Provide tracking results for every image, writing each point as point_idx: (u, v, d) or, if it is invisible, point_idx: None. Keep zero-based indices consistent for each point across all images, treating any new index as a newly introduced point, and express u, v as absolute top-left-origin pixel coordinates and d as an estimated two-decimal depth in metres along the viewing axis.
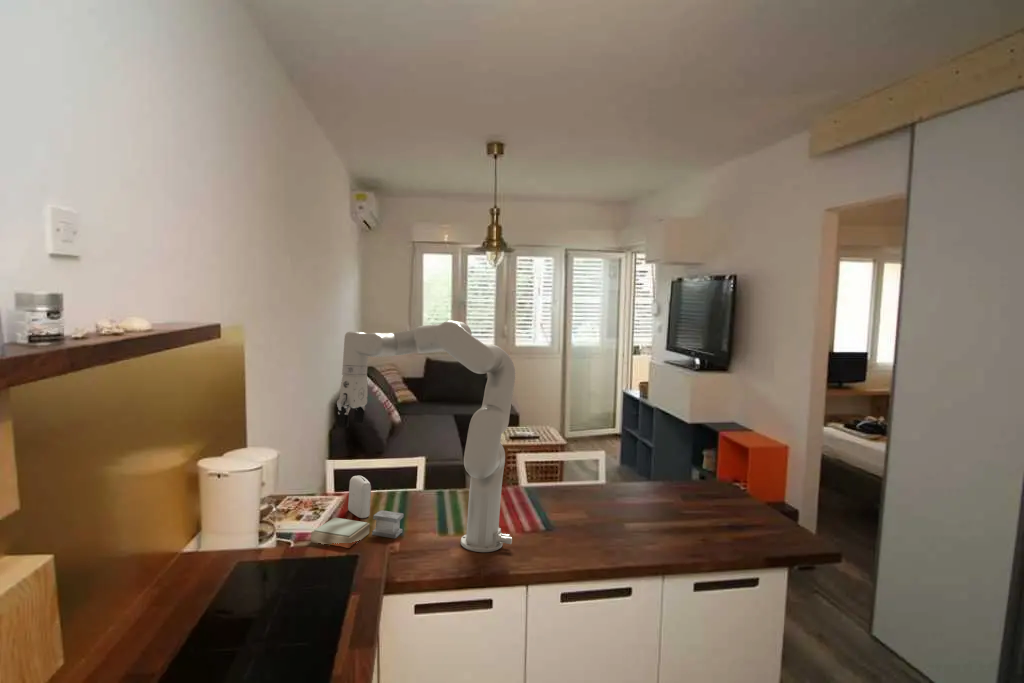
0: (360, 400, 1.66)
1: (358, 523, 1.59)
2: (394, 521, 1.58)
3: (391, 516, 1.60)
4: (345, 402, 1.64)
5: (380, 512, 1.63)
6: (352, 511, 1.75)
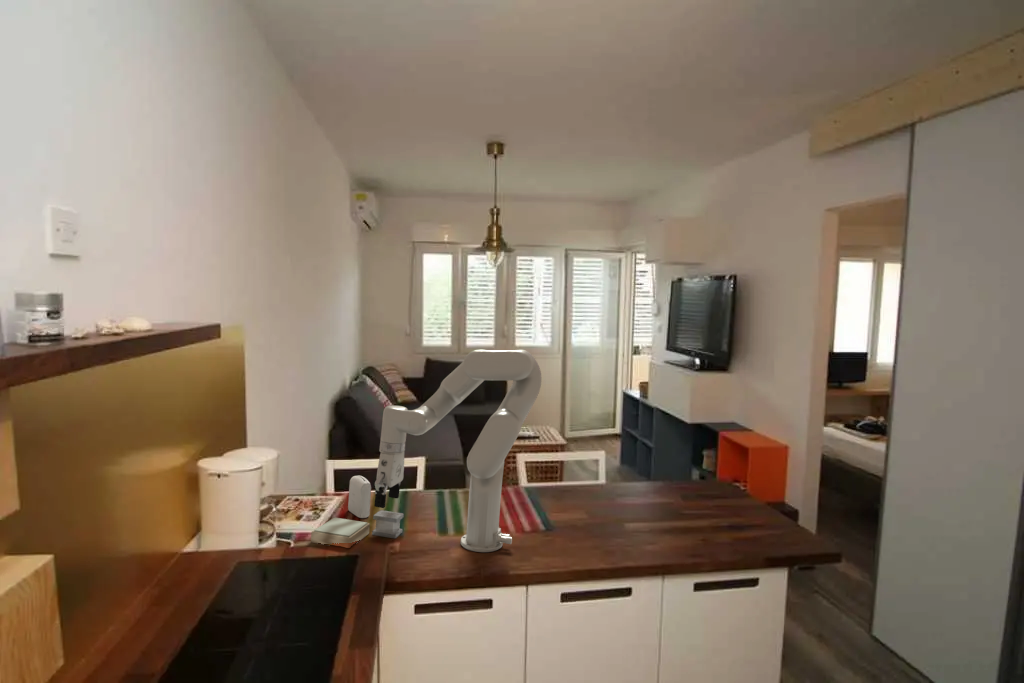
0: (397, 477, 1.60)
1: (358, 523, 1.59)
2: (394, 521, 1.58)
3: (391, 516, 1.60)
4: (382, 480, 1.58)
5: (380, 512, 1.63)
6: (352, 511, 1.75)
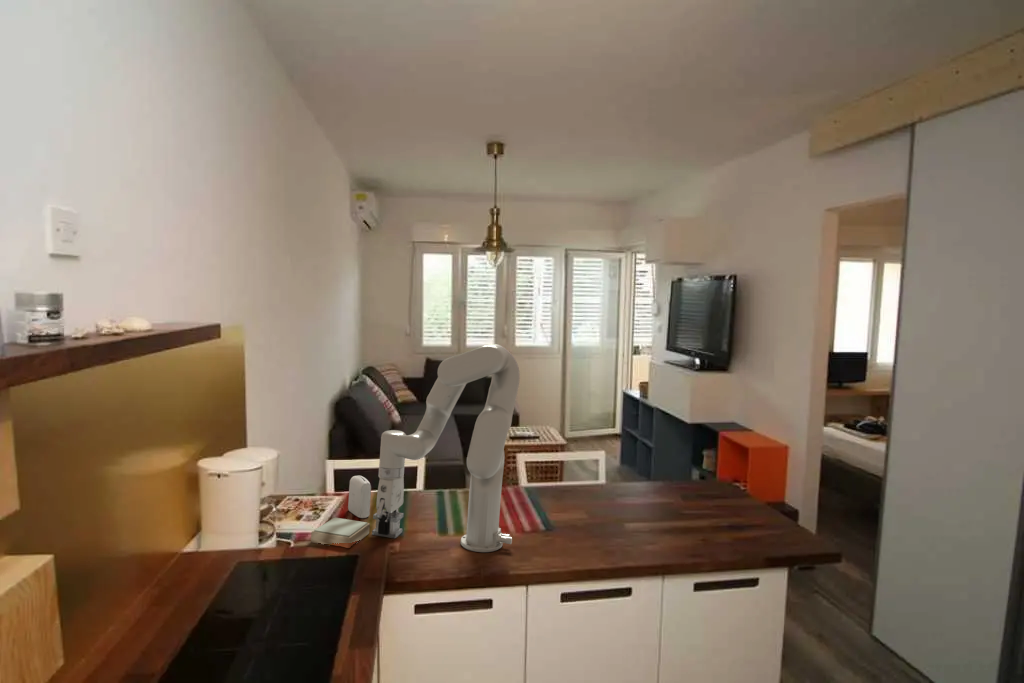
0: (397, 502, 1.60)
1: (358, 523, 1.59)
2: (394, 521, 1.58)
3: (391, 516, 1.60)
4: None
5: None
6: (352, 511, 1.75)
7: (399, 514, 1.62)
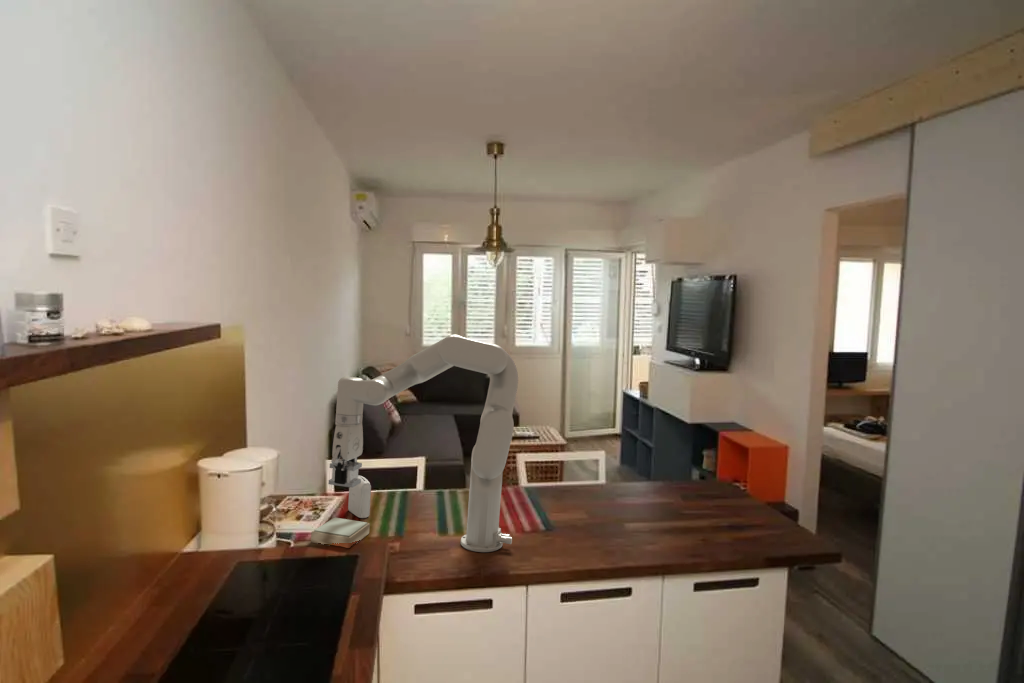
0: (354, 451, 1.54)
1: (358, 523, 1.59)
2: (351, 469, 1.52)
3: (348, 464, 1.54)
4: (340, 455, 1.53)
5: None
6: (352, 511, 1.75)
7: (357, 463, 1.56)
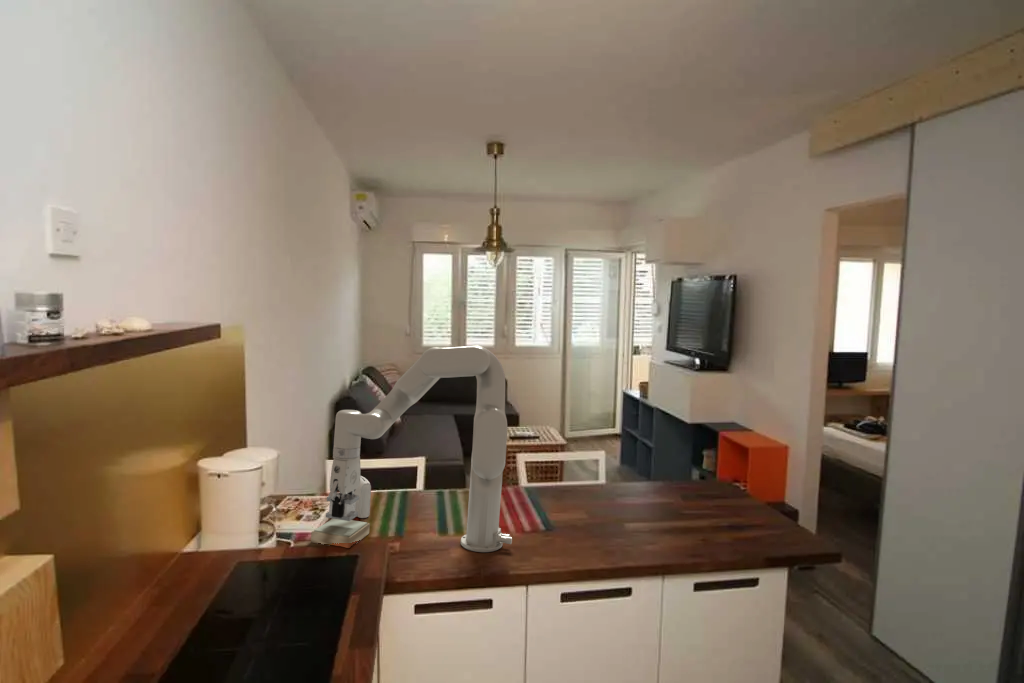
0: (352, 484, 1.54)
1: (358, 523, 1.59)
2: (348, 503, 1.52)
3: (345, 498, 1.54)
4: (337, 488, 1.53)
5: None
6: None
7: (354, 496, 1.56)
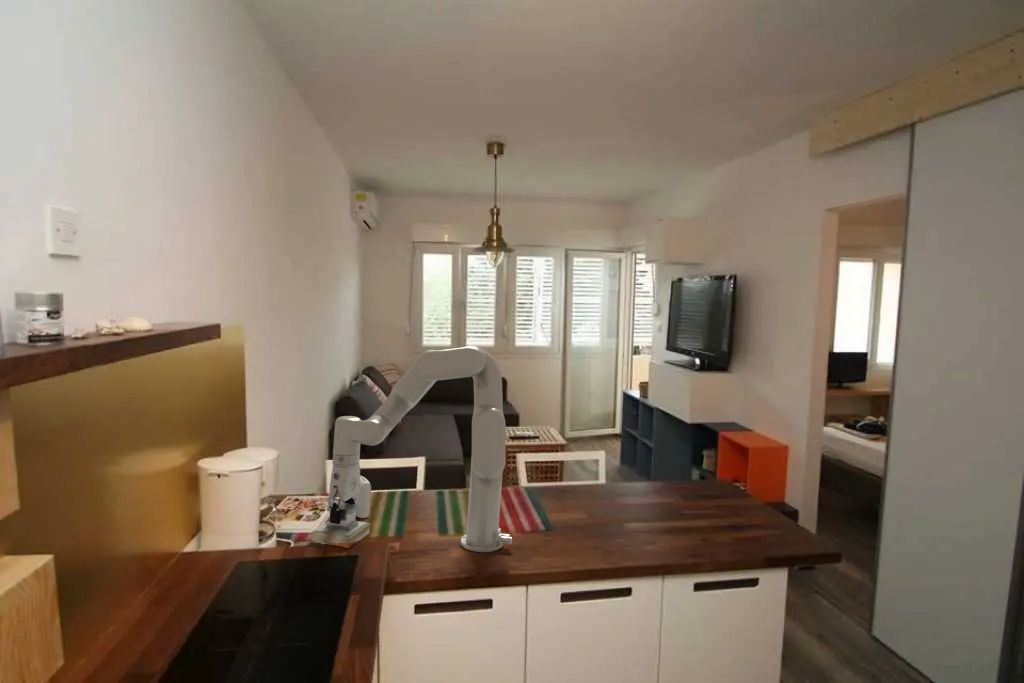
0: (352, 490, 1.54)
1: (358, 523, 1.59)
2: (348, 513, 1.52)
3: (345, 508, 1.54)
4: (336, 495, 1.53)
5: None
6: None
7: (354, 506, 1.56)
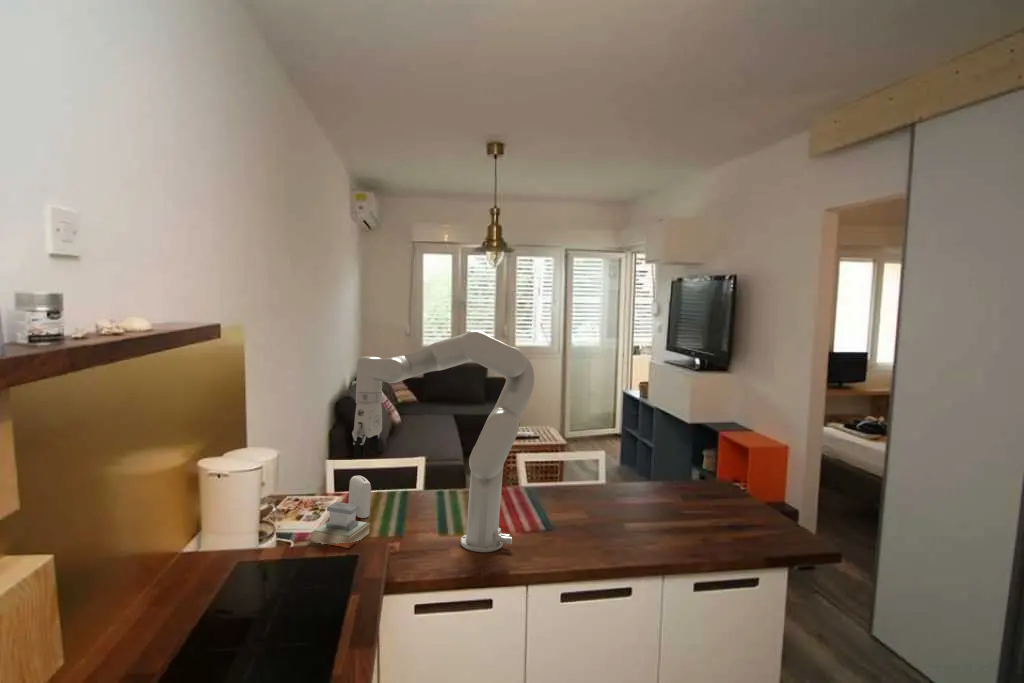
0: (375, 428, 1.58)
1: (358, 523, 1.59)
2: (348, 513, 1.52)
3: (345, 508, 1.54)
4: (360, 431, 1.56)
5: (335, 503, 1.57)
6: None
7: (354, 506, 1.56)
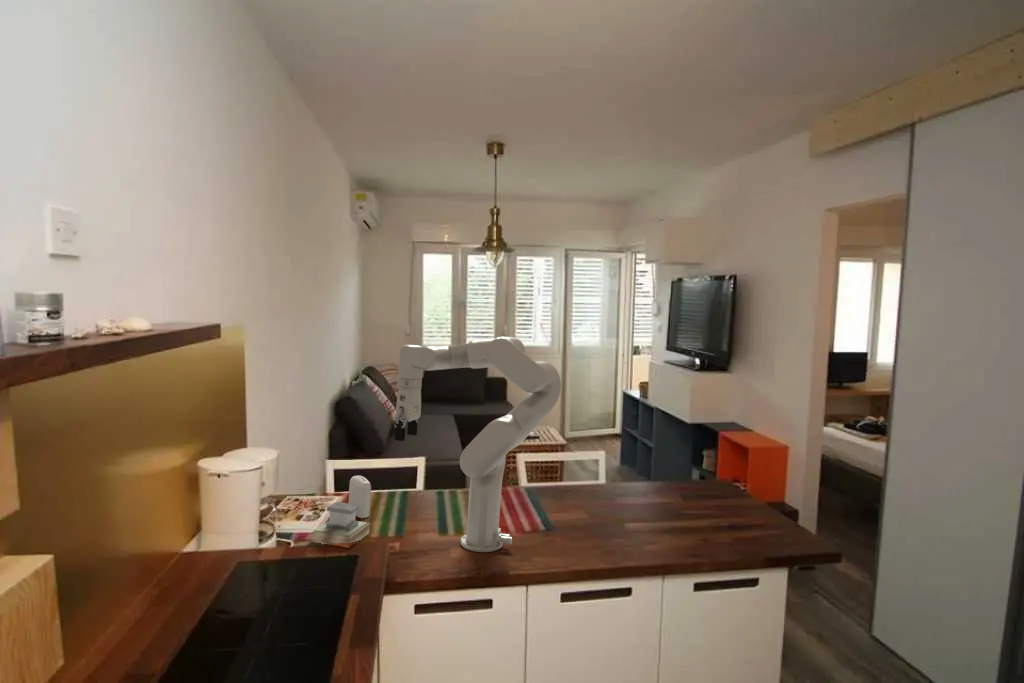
0: (415, 413, 1.66)
1: (358, 523, 1.59)
2: (348, 513, 1.52)
3: (345, 508, 1.54)
4: (401, 415, 1.64)
5: (335, 503, 1.57)
6: None
7: (354, 506, 1.56)
